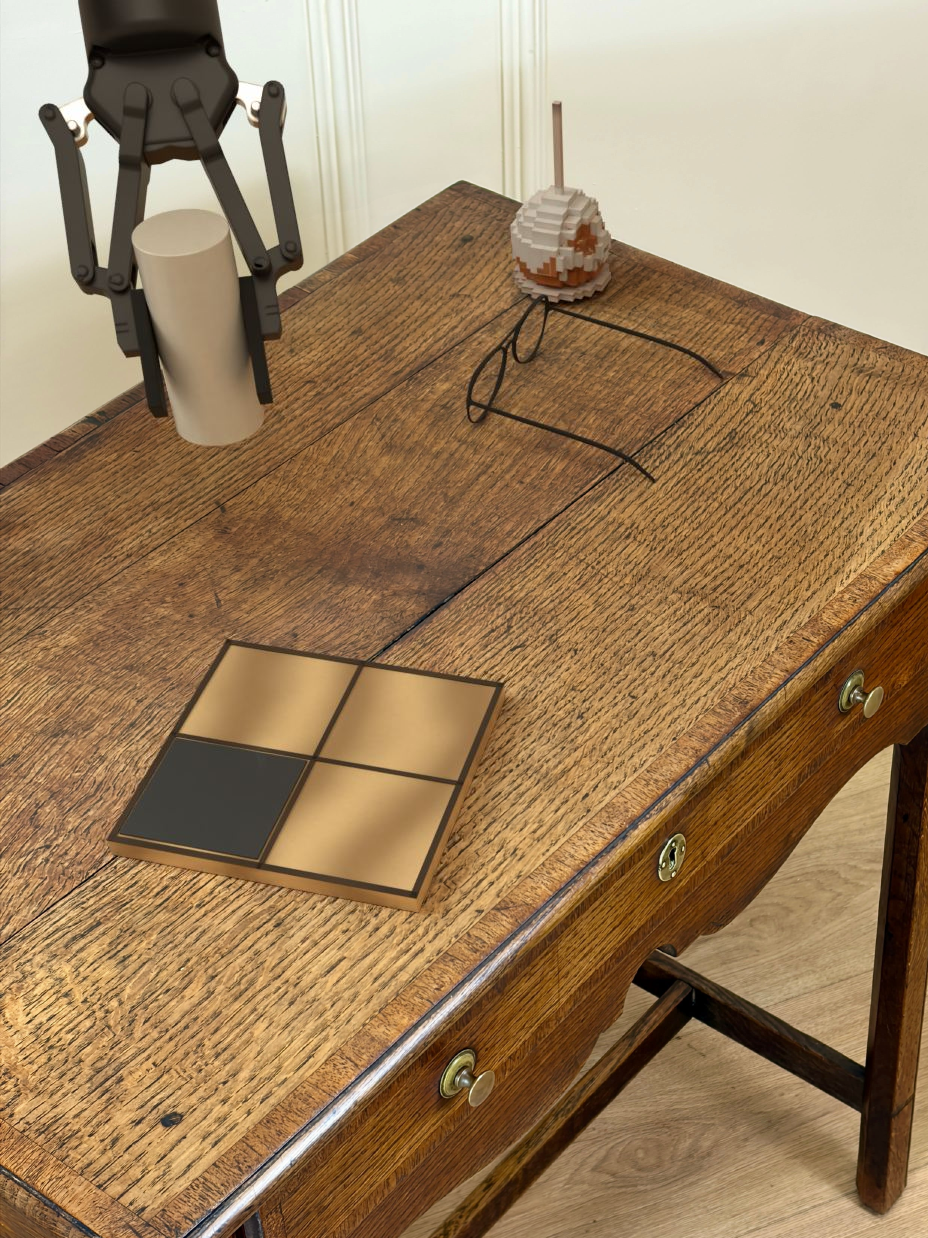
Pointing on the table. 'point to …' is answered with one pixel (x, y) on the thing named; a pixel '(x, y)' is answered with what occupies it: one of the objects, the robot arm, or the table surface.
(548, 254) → the caramel apple
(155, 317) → the cream cylinder
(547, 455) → the table surface
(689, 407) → the table surface
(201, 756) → the board
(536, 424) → the glasses
